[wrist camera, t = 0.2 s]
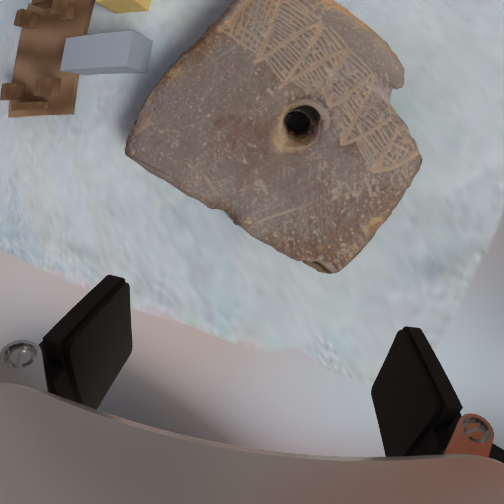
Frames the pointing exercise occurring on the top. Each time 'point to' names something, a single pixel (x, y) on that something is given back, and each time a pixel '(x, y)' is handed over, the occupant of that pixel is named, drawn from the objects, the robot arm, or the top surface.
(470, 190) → the top surface
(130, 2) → the tan toy brick
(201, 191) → the stone slab
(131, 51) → the grey rectangular block
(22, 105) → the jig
